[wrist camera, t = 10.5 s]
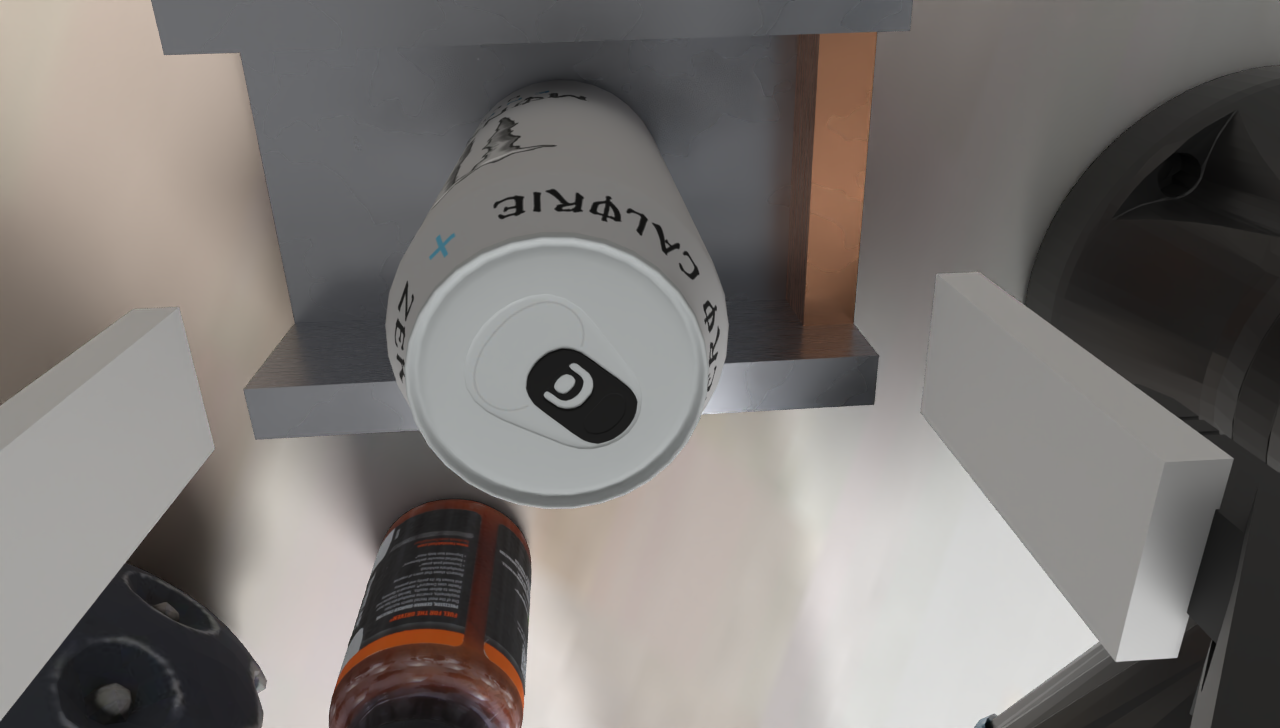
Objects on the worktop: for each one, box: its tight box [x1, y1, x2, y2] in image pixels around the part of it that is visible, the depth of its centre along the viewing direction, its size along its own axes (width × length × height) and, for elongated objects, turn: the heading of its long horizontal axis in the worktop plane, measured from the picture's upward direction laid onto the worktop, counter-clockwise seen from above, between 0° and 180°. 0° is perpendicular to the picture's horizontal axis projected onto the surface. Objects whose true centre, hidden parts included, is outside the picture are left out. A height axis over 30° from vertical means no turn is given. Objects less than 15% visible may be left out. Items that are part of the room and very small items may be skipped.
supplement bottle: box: [329, 499, 531, 728], centre depth 29 cm, size 6×6×11 cm
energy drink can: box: [385, 80, 729, 509], centre depth 21 cm, size 6×6×15 cm
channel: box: [151, 0, 913, 440], centre depth 26 cm, size 18×12×6 cm, turn 92°
